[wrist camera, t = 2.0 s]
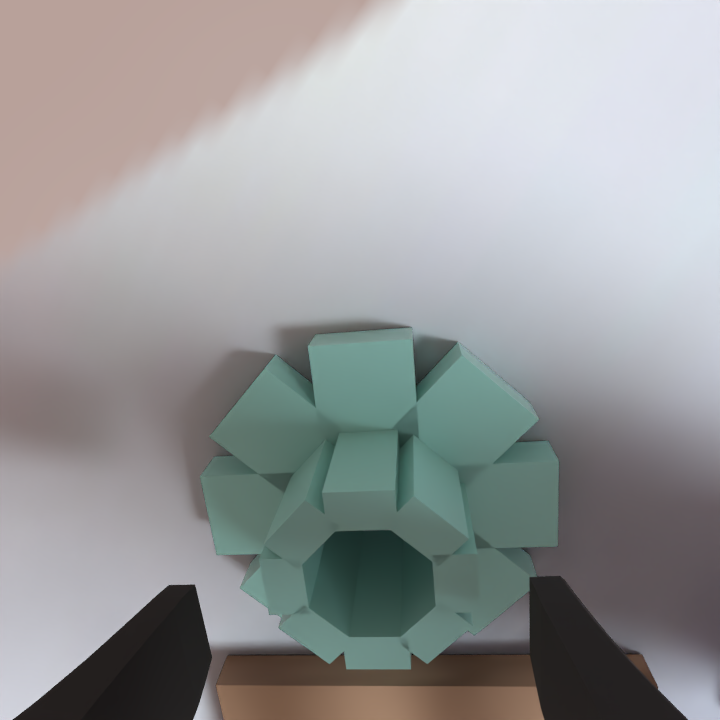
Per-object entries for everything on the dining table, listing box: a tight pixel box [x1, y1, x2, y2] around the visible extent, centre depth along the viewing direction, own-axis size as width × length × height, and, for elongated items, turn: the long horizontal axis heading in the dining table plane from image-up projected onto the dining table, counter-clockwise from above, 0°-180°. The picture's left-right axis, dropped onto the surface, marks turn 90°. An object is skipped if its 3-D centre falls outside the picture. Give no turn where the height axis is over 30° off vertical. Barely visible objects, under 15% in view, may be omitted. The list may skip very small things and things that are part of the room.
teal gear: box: [200, 327, 559, 669], centre depth 14 cm, size 10×10×4 cm
